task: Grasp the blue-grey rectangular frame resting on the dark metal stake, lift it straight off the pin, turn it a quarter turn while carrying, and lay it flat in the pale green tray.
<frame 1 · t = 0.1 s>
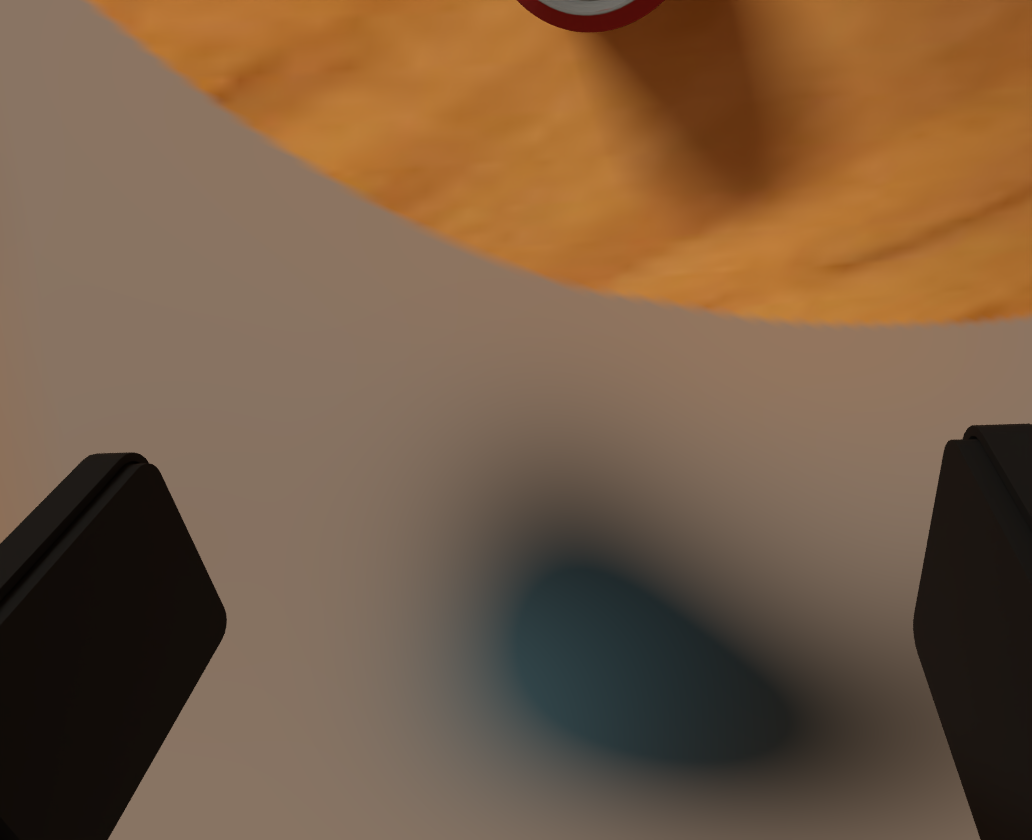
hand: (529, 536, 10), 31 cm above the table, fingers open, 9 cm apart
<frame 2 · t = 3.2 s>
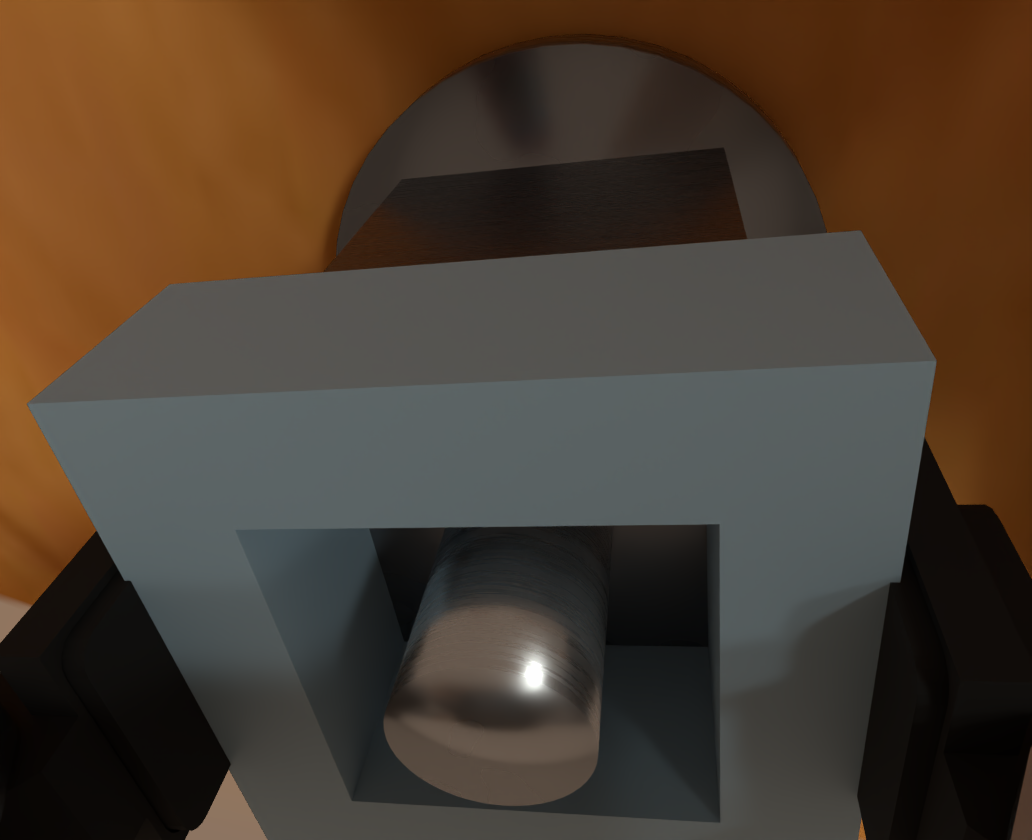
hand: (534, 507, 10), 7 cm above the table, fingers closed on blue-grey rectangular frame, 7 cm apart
blue-grey rectangular frame: (530, 527, 10), point 7 cm above the table, touching gripper, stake
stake: (577, 288, 16), on the table
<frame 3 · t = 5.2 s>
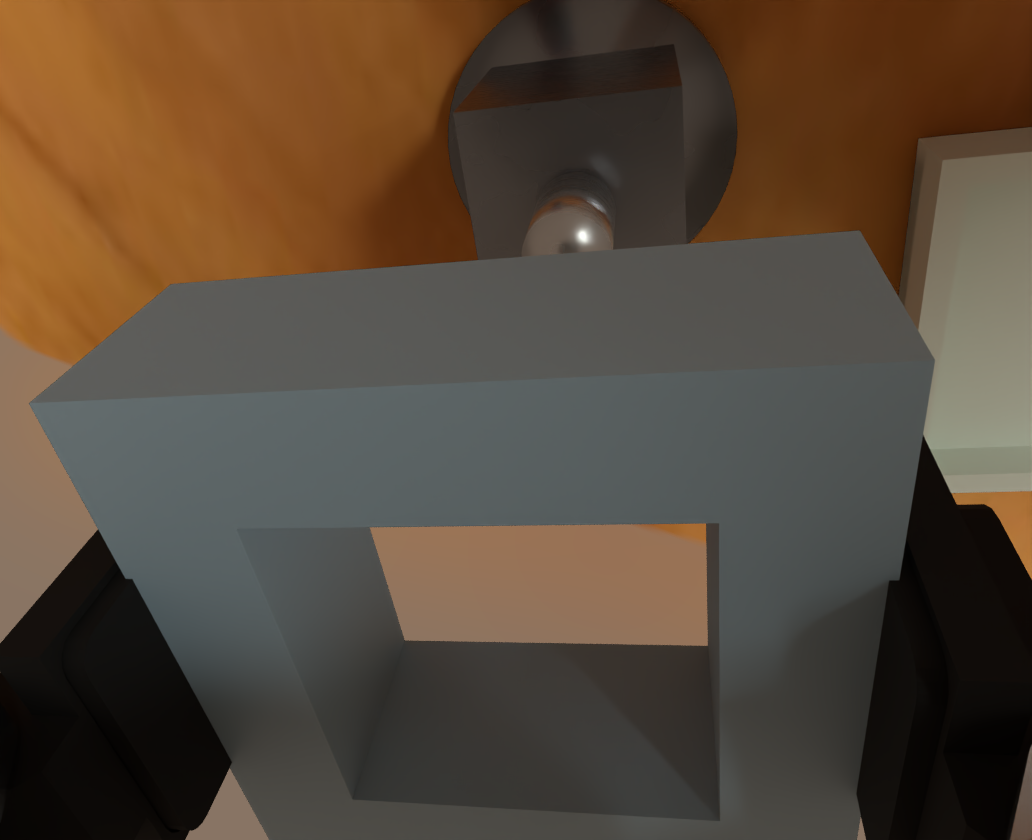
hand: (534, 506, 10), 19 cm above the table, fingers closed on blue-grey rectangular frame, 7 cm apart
blue-grey rectangular frame: (531, 526, 10), point 19 cm above the table, touching gripper
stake: (590, 140, 26), on the table
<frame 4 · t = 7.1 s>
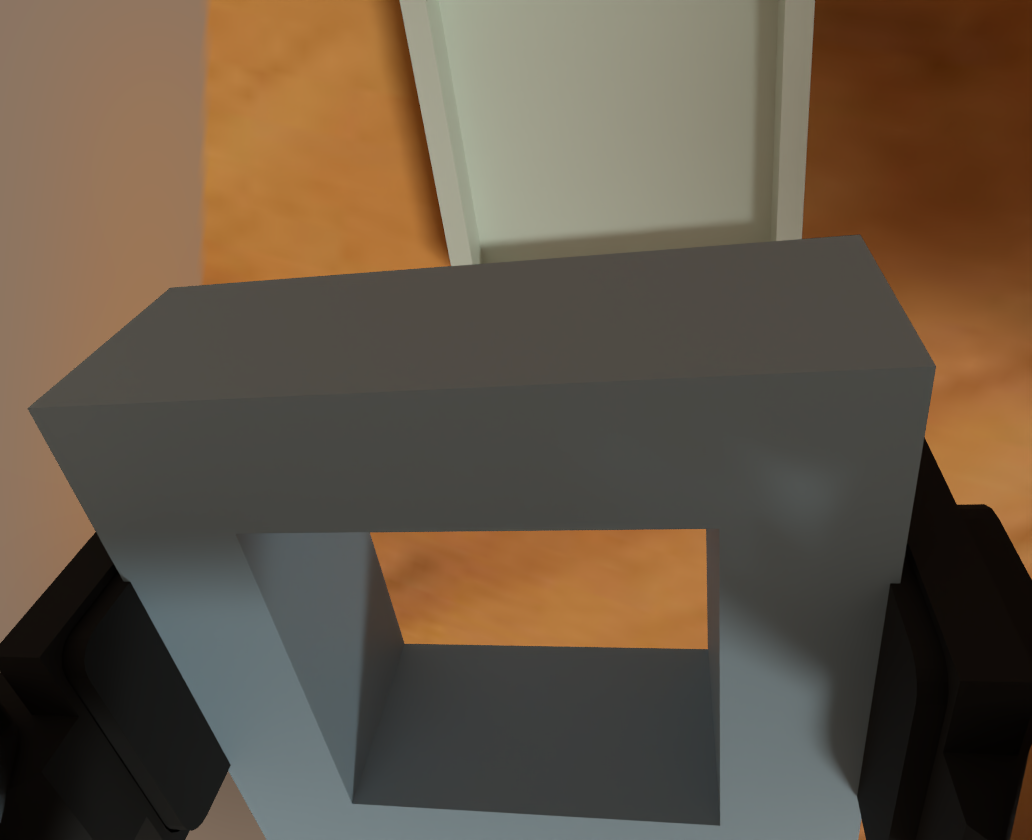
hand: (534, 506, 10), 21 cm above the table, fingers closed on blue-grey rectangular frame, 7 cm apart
blue-grey rectangular frame: (530, 530, 10), point 21 cm above the table, touching gripper
tray: (613, 113, 27), on the table
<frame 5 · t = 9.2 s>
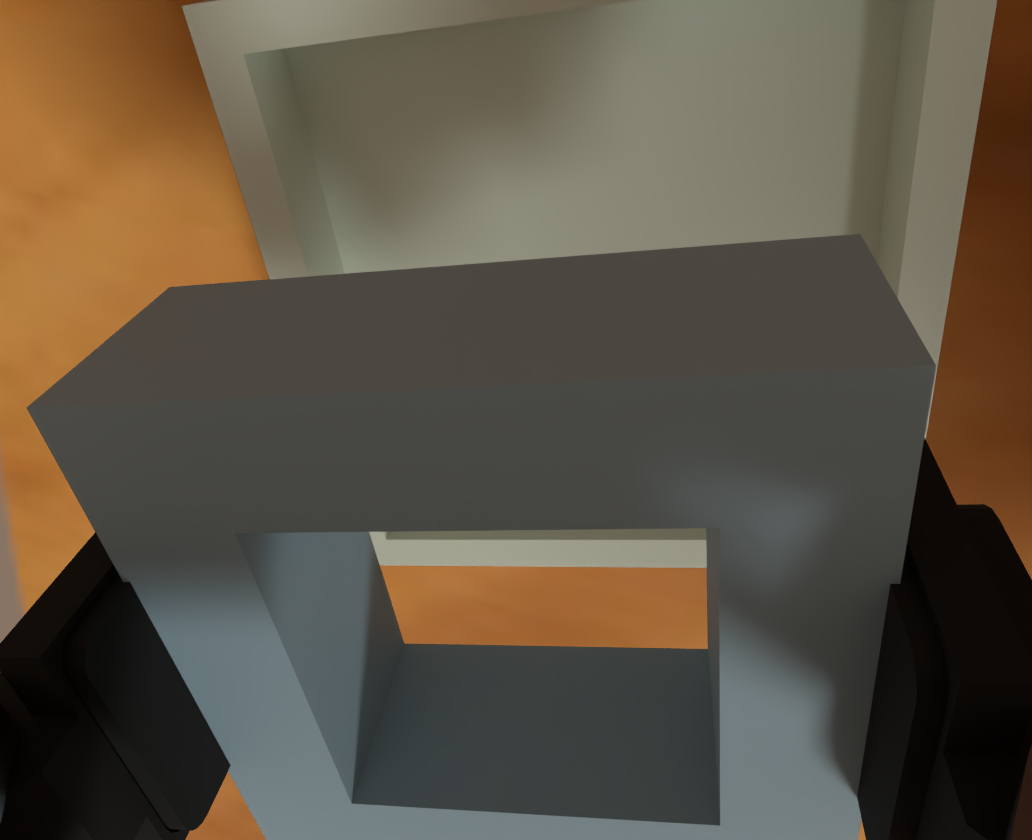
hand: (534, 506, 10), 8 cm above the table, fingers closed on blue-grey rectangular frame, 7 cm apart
blue-grey rectangular frame: (530, 529, 10), point 8 cm above the table, touching gripper
tray: (600, 273, 17), on the table
when the fingers open (2 cm above the table, at t = 11.0 s): blue-grey rectangular frame drops 2 cm, resting on tray.
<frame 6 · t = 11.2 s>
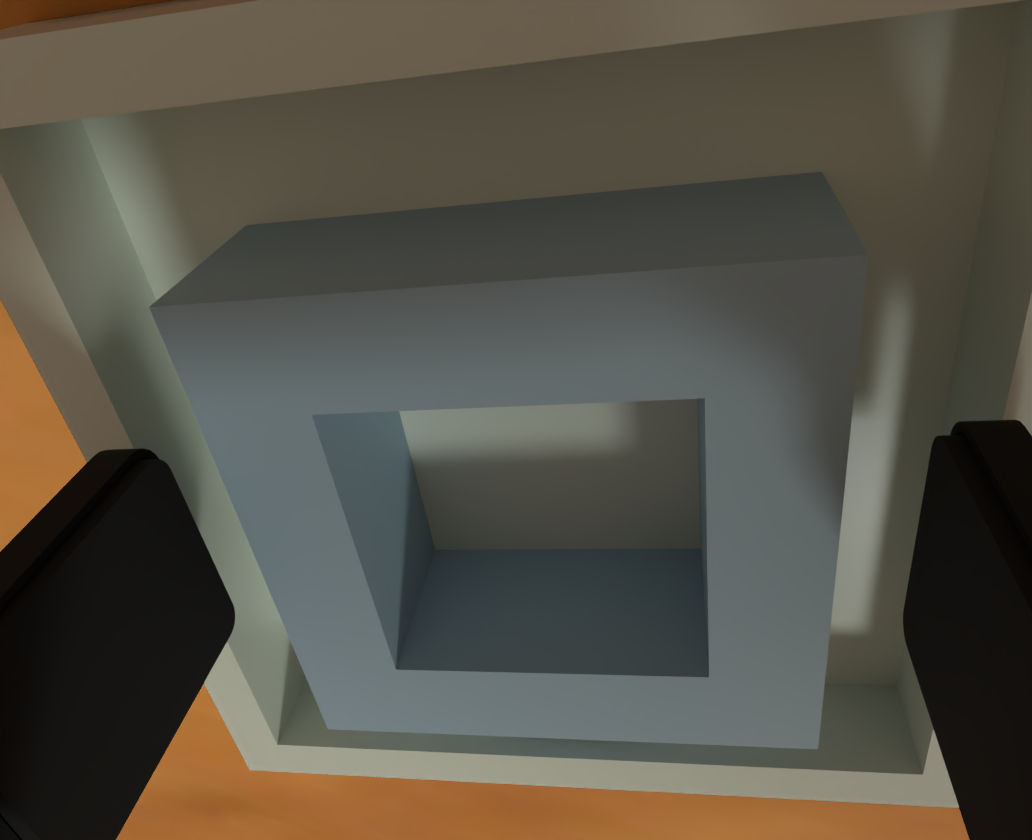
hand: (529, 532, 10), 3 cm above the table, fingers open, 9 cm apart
blue-grey rectangular frame: (547, 439, 11), point 1 cm above the table, touching tray
tray: (553, 406, 12), on the table
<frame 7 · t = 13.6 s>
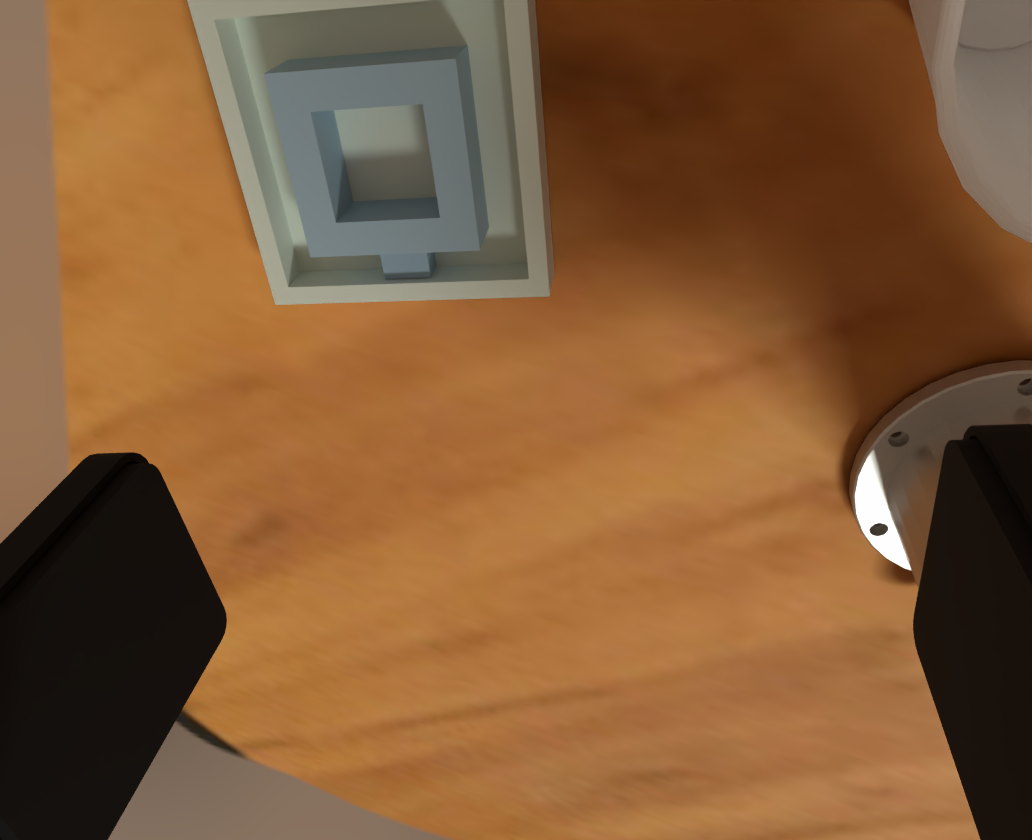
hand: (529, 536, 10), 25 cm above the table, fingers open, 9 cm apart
blue-grey rectangular frame: (392, 147, 32), point 1 cm above the table, touching tray
tray: (397, 140, 33), on the table
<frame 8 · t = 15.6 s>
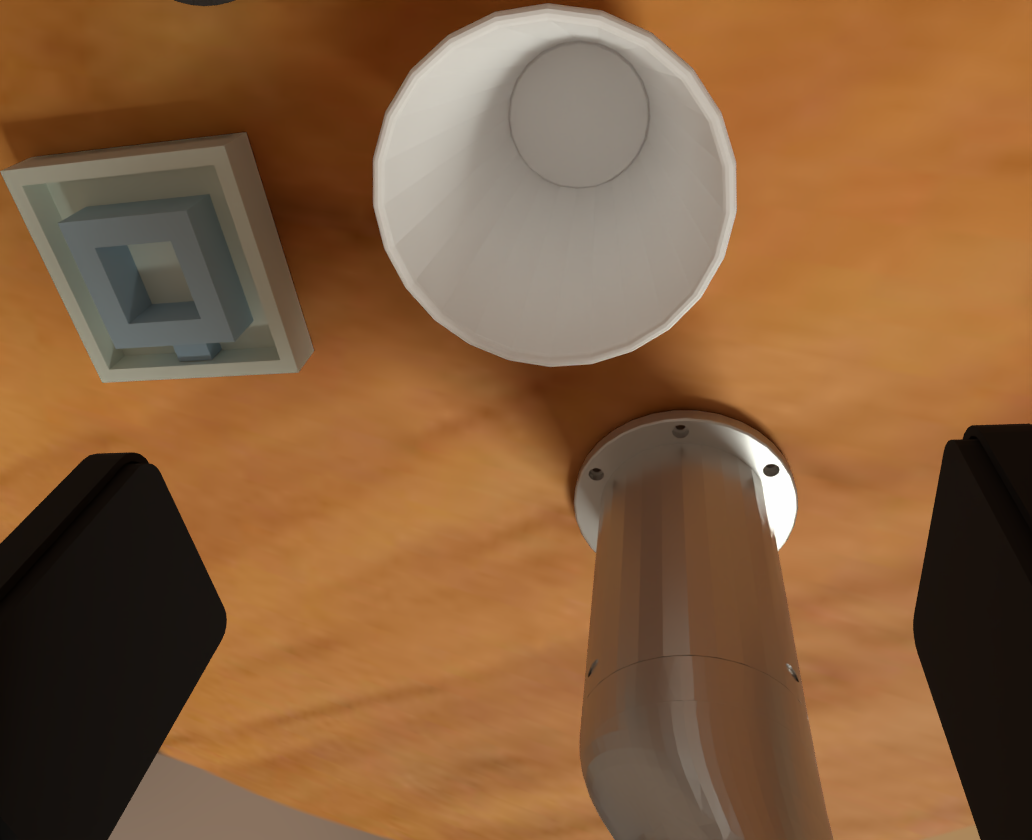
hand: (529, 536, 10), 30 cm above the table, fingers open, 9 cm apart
blue-grey rectangular frame: (172, 265, 42), point 1 cm above the table, touching tray
tray: (179, 258, 43), on the table
cup: (579, 115, 36), on the table
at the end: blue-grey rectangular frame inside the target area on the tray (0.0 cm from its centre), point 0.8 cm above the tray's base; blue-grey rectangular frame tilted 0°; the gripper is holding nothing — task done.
